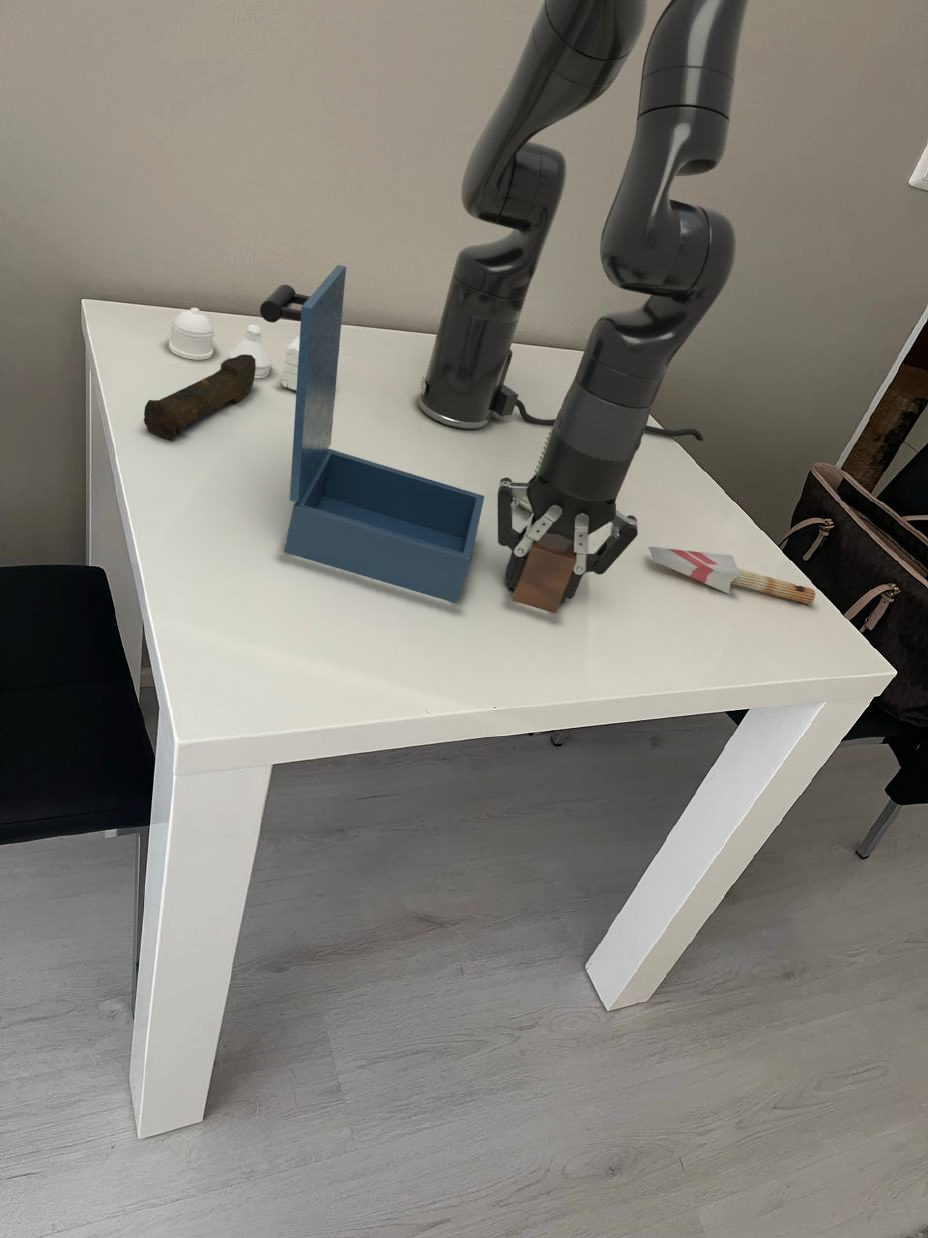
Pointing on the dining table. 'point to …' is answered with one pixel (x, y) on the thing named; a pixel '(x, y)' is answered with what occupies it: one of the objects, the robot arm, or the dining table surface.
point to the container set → (196, 343)
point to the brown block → (546, 572)
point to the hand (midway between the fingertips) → (536, 589)
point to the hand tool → (201, 397)
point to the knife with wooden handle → (727, 573)
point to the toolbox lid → (312, 369)
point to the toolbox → (386, 525)
